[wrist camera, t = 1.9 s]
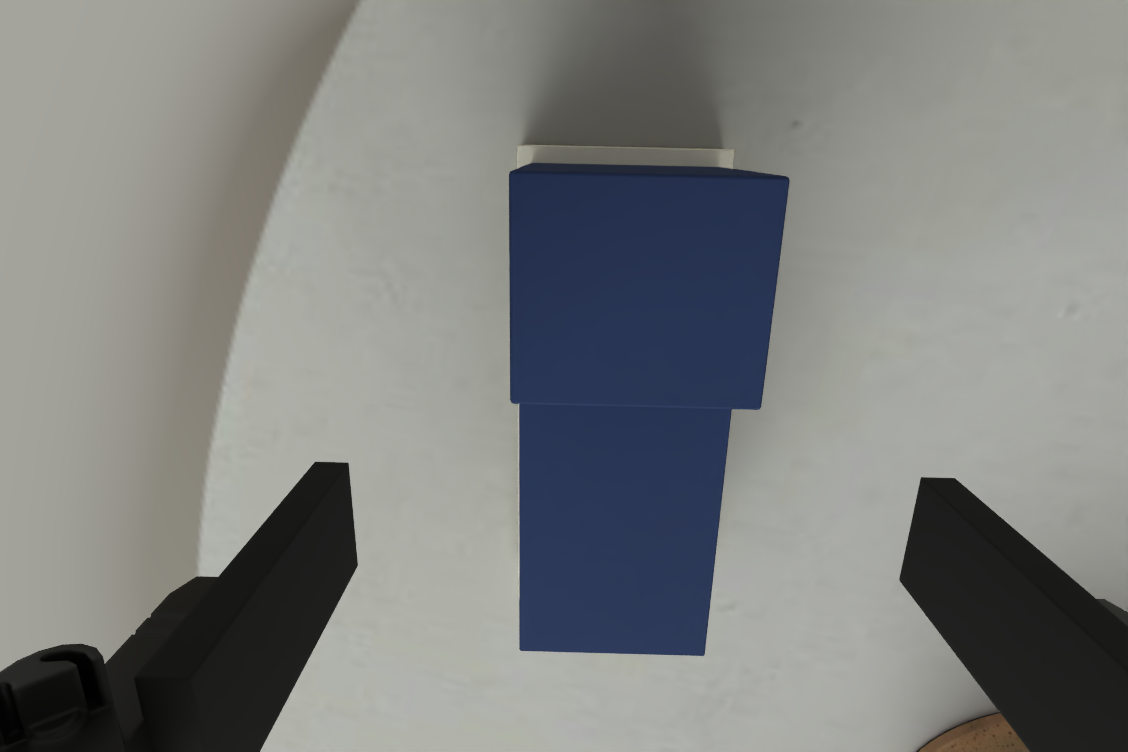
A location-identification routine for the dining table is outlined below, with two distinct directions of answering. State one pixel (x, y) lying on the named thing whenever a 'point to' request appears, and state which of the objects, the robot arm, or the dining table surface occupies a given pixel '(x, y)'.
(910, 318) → the dining table surface
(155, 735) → the robot arm
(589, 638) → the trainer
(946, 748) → the mug
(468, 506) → the dining table surface
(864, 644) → the dining table surface
